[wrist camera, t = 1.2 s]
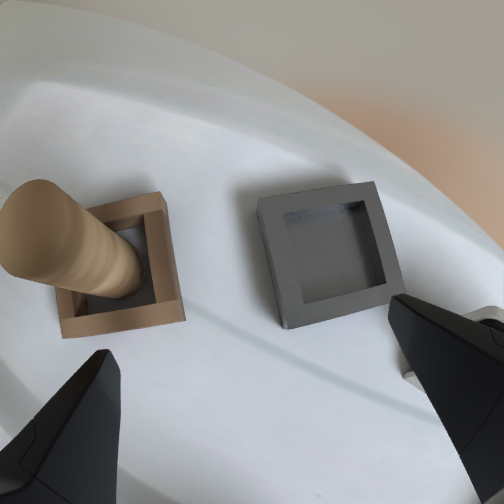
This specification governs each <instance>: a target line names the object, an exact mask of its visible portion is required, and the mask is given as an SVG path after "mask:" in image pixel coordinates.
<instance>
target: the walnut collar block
mask: <svg viewBox="0 0 504 504" xmlns="http://www.w3.org/2000/svg"><path fill="white" fill-rule="evenodd" d="M86 210H87V211H88V212H89V213H91V214H92V215H93V216H94V217H96V218H97V219H98V220H99V221H101V222H102V223H103V224H104V225H106V226H107V227H108V228H109V229H111V230H112V231H113V232H116V231H120V230H125V229H129V228H134V227H138V226H143V225H145V231H146V239H147V246H148V254H149V261H150V267H151V274H152V280H153V287H154V293H155V298H156V304H151V305H145V306H140V307H134V308H128V309H122V310H117V311H111V312H105V313H99V314H93V315H88V309H87V302H86V294H85V293H82V292H78V291H73V290H68V289H64V288H60V287H55V289H56V298H57V306H58V314H59V321H60V327H61V334H62V339H66V338H79V337H86V336H93V335H100V334H107V333H114V332H121V331H127V330H133V329H140V328H146V327H152V326H158V325H164V324H169V323H175V322H181V321H186V318H185V313H184V308H183V302H182V297H181V292H180V286H179V280H178V275H177V269H176V263H175V257H174V251H173V244H172V238H171V231H170V224H169V217H168V210H167V203H166V201H165V200H164V198H163V196H162V194H161V192H160V191H159V192H155V193H150V194H146V195H141V196H137V197H133V198H129V199H124V200H120V201H116V202H112V203H108V204H104V205H100V206H97V207H93V208H89V209H86Z"/></svg>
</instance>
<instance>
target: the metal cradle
mask: <svg viewBox="0 0 504 504" xmlns="http://www.w3.org/2000/svg"><path fill="white" fill-rule="evenodd" d="M256 211H257V215H258V220H259V224H260V229H261V233H262V237H263V242H264V246H265V251H266V255H267V260H268V264H269V269H270V273H271V278H272V282H273V287H274V291H275V296H276V300H277V305H278V310H279V314H280V319H281V323H282V328H283V329H287V330H289V329H294V328H298V327H302V326H306V325H310V324H314V323H318V322H322V321H326V320H330V319H333V318H337V317H341V316H345V315H348V314H352V313H355V312H359V311H362V310H366V309H369V308H373V307H376V306H380V305H383V304H386V303H390V300H391V297H392V296H393V295H397V294H400V293H404V294H406V293H405V288H404V284H403V280H402V275H401V271H400V267H399V263H398V259H397V256H396V252H395V248H394V244H393V241H392V237H391V234H390V230H389V227H388V224H387V220H386V217H385V214H384V210H383V207H382V204H381V201H380V198H379V195H378V192H377V189H376V186H375V183H374V181H371V182H364V183H356V184H349V185H342V186H335V187H328V188H321V189H315V190H308V191H302V192H296V193H289V194H283V195H277V196H271V197H266V198H260V199H259V200H258V205H257V210H256Z"/></svg>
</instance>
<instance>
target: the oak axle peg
mask: <svg viewBox="0 0 504 504" xmlns="http://www.w3.org/2000/svg"><path fill="white" fill-rule="evenodd" d="M0 264H1V265H2V267H3V268H4V269H5V270H6V271H7V272H8V273H9V274H11V275H13V276H15V277H19V278H23V279H26V280H30V281H34V282H39V283H43V284H47V285H51V286H55V287H60V288H64V289H68V290H73V291H78V292H82V293H87V294H92V295H96V296H101V297H106V298H111V299H117V300H120V299H126V298H128V297H130V296H132V295H133V294H135V293H136V292H137V291H138V290H139V288H140V287H141V285H142V283H143V281H144V277H145V263H144V260H143V258H142V256H141V254H140V253H139V252H138V250H137V249H135V248H134V247H133V246H131V245H130V244H129V243H128V242H126V241H125V240H124V239H122V238H121V237H120V236H118V235H117V234H116V233H115V232H113V231H112V230H111V229H109V228H108V227H107V226H106V225H104V224H103V223H102V222H101V221H99V220H98V219H97V218H96V217H94V216H93V215H92V214H91V213H89V212H88V211H87V210H86V209H84V208H83V207H82V206H81V205H79V204H78V203H77V202H76V201H75V200H73V199H72V198H71V197H70V196H68V195H67V194H66V193H65V192H64V191H62V190H61V189H60V188H59V187H58V186H57V185H55V184H54V183H52V182H50V181H47V180H41V179H38V180H33V181H29V182H27V183H25V184H23V185H22V186H20V187H19V188H17V189H16V190H15V191H14V192H13V193H12V194H11V195H10V196H9V198H8V199H7V200H6V202H5V203H4V205H3V207H2V209H1V211H0Z"/></svg>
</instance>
